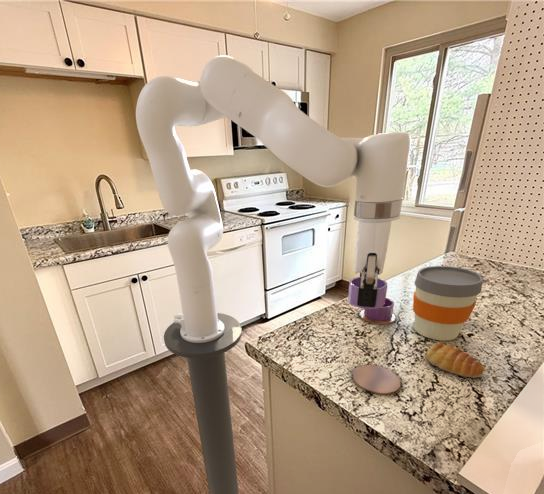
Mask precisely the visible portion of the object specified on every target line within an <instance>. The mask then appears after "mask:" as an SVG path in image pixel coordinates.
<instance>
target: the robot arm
mask: <svg viewBox="0 0 544 494" xmlns="http://www.w3.org/2000/svg"><path fill="white" fill-rule="evenodd" d="M225 118H227V119H229V120H230V121H231V122H233V123H235V124H236V125H238V126H239V127H240V128H241V129H243V130H245V131H246V132H247V133H249V134H250V135H251V136H253V137H255V138H256V139H257V140H258V141H259V142H261V144H262V145H263V146H264V147H265V148H267V149H268V150H269V151H270V152H271V153H272V154H273V155H274V156H275V157H277V158H278V159H279V160H280V161H282V162H283V163H284V164H285V165H287V166H288V167H289V168H290V169H292V170H294V171H295V172H296V173H298V174H299V175H301V176H302V177H303V178H305V179H307V180H308V181H309V182H311V183H313V184H315V185H317V186H318V187H319V186H320V187H323V188H334V187H336V186H339V185H341V184H342V183H344V182H346V181H347V180H349V179H355V178H356V187H355V196H354V197H355V198H354V206H353V207H354V208H353V220H355V221H358V226H357V232H356V233H357V234H356V242H355V251H354V252H355V253H354V263H353V264H354V265H353V272H354V274H355V275H357V274H358V273H359V277H361V286H359V291H358V300H357V305H358V306H364V307H375V305H376V297H377V290H378V288H377V280H378V278H379V275H381V274H383V272H384V267H385V264H386V263H385V262H386V259H387V258H386V257H387V253H388V247H389V242H390V235H391V227H392V221H396V220H398V219H400V217H401V213H402V212H401V211H402V204H403V197H404V191H405V185H406V178H407V172H408V165H409V159H410V151H411V146H412V138H411V137H412V136H411V135H410V133H408V132H407V131H393V132H385V133H378V134H371V135H367V136H366V137H341V136H338V135H336V133H335V134H334V132H332V131H330V130H329V129H327V128H326V127H324V126H323V125H321V124H320V123H319V122H317V121H315V120H314V119H313V118H312V117H310V116H308V115H307V114H306V113H305V112H304V111H302V110H301V109H300V108H299V107H298V106H297V104H295V102H294V100H293V99H292V97H290V95H288V93H287V92H285V91H284V90H282V89H280V88H278V87H277V86H275V85H274V84H273V83H271V82H270V81H268V80H266V79H265V78H263V76H261V75H259V74H258V73H256V72H255V71H254V70H253V69H252V68H251V67H250V66H249V65H248V64H246V63H244V62H242V61H240V60H238V59H236V58H234V57H232V56H229V55H217V56H214V57H213V58H211V59H210V60H209V61H208V62H206V64H205V65H204V66H203V69H202V71H201V75H200V79H199V80H197V81H193V82H192V81H190V80H185V79H182V78H178V77H174V76H168V75H167V76H166V75H165V76H164V75H163V76H157V77H156V76H155V77H154V78H151V79H150V80H149V81H148V82H147V83H146V84H144V86H143V87H142V88H141V91H140V93H139V95H138V98H137V101H136V106H135V121H136V128H137V131H138V135H139V137H140V140H141V142H142V145H143V148H144V150H145V153H146V156H147V159H148V161H149V165H150V170H151V173H152V177H153V180H154V183H155V186H156V189H157V190H156V191H157V194H158V196H159V200H160V203H161V205H162V208H163V209H164V210H165V211H166V212H167V214H169V215H172V216H183V215H185V214H186V215H187V217H188V218H186V219H183V220H181V221H179V222H177V223H176V224H175V225H173V227H172V228H171V229H170V230H169V232H168V235H167V248H168V251H169V253H170V256H171V259H172V262H173V265H174V270H175V274H176V280H177V285H178V292H179V298H180V305H181V311H182V313H178V312H175V314H174V317H173V318H174V319H173V323H176V324H181V325H182V327H181V329H180V333H181V336H182V338H183V339H184V340H186V341H189V342H193V343H204V342H209V341H212V340H215V339H217V338H218V337H220V336H221V335H222V334H223V332H224V324H223V323H222V321H220V320H218V315H217V313H218V307H217V298H216V288H215V287H216V286H215V278H214V272H213V266H212V264H211V262H210V259H209V257H208V254H207V253H208V252H209V250H211V249H212V248H214V247H215V246H217V245H218V244H219V243H220V242H221V240H222V239H223V235H224V227H223V225H224V224H223V219H222V216H221V212H220V207H219V203H218V198H217V194H216V191H215V188H214V185H213V183H212V181H211V179H210V177H209V176H208V175H207V174H206V173H204V172H203V171H201V170H198V169H191V168H190V165H189V162H188V158H187V154H186V153H187V152H186V150H185V147H184V144H183V143H182V141H181V140H180V138H179V136H178V134H177V132H176V127H188V128H189V127H190V128H191V127H199V126H203V125H206V124H209V123H212V122H216V121H218V120H222V119H225ZM364 277H366V278H365V279H364ZM363 286H364V287H363Z"/></svg>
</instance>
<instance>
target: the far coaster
mask: <svg viewBox="0 0 544 494" xmlns="http://www.w3.org/2000/svg"><path fill="white" fill-rule="evenodd" d="M364 310H365V309H364V308H363V309H362V310H361V311H360V312H359V317H360V319H362V320H363V321H364V322H367V323H369V324H374V325H390V324H393V323H394V322H395V321H396V315H395V314H394V313H392V318H391V319H390V320H388V321H374V320H371V319H368V318H367V317H365V315H364Z"/></svg>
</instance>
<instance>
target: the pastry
mask: <svg viewBox="0 0 544 494" xmlns="http://www.w3.org/2000/svg"><path fill="white" fill-rule="evenodd" d="M425 358H426V360H427V361H428V362H429V363H430V364H431V365H432V366H435V367H438V368H439V369H440V370H443V371H445V372H449V373H451V374H455V375H457V376H459V377H460V376H461V377H465V378H473V379H475V378H480V376H482V375H483V373H484V372H485V367H484V366H483V365H482V363H481V362H480V361H478V360H477V358H475V357H473V356H471V355H470V353H468V352H464V351H463V350H462V349H461V348H460V347H455V346H454V345H452V344H444V343H443V342H442V341H441V342H440V341H437V342H435V343H434V344H432V346H431V347H430V348H429V350H428V351H427V353H426V355H425Z"/></svg>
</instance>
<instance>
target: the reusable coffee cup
mask: <svg viewBox="0 0 544 494" xmlns="http://www.w3.org/2000/svg"><path fill="white" fill-rule="evenodd" d="M415 277H416V278H415V279H414V285H415V290H414V292H413V297H412V299H413V301H412V311H413V313H414V327H413V328H414V330H415V331H416V333H418V334H419V335H421V336H422V337H425V338H427V339H431V340H436V341H453V340H455V339H457V338H458V336H459V334H460V333H461V330H462V329H463V326H464V324H465V323H466V322H467V321H468V320H469V319H470V316H471V315H472V313H473V310H474V308H475V306H476V305H477V300H476V299H477V297H478V296H479V294H481V292H482V289H483V282H484V277H483V276H482V275H481V274H480V273H478V272H476V271H473V270H470V269H468V268H463V267H456V266H448V265H432V266H431V265H430V266H426V267H422V268H420V269H419V270H418V271H417V274H416V276H415Z"/></svg>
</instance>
